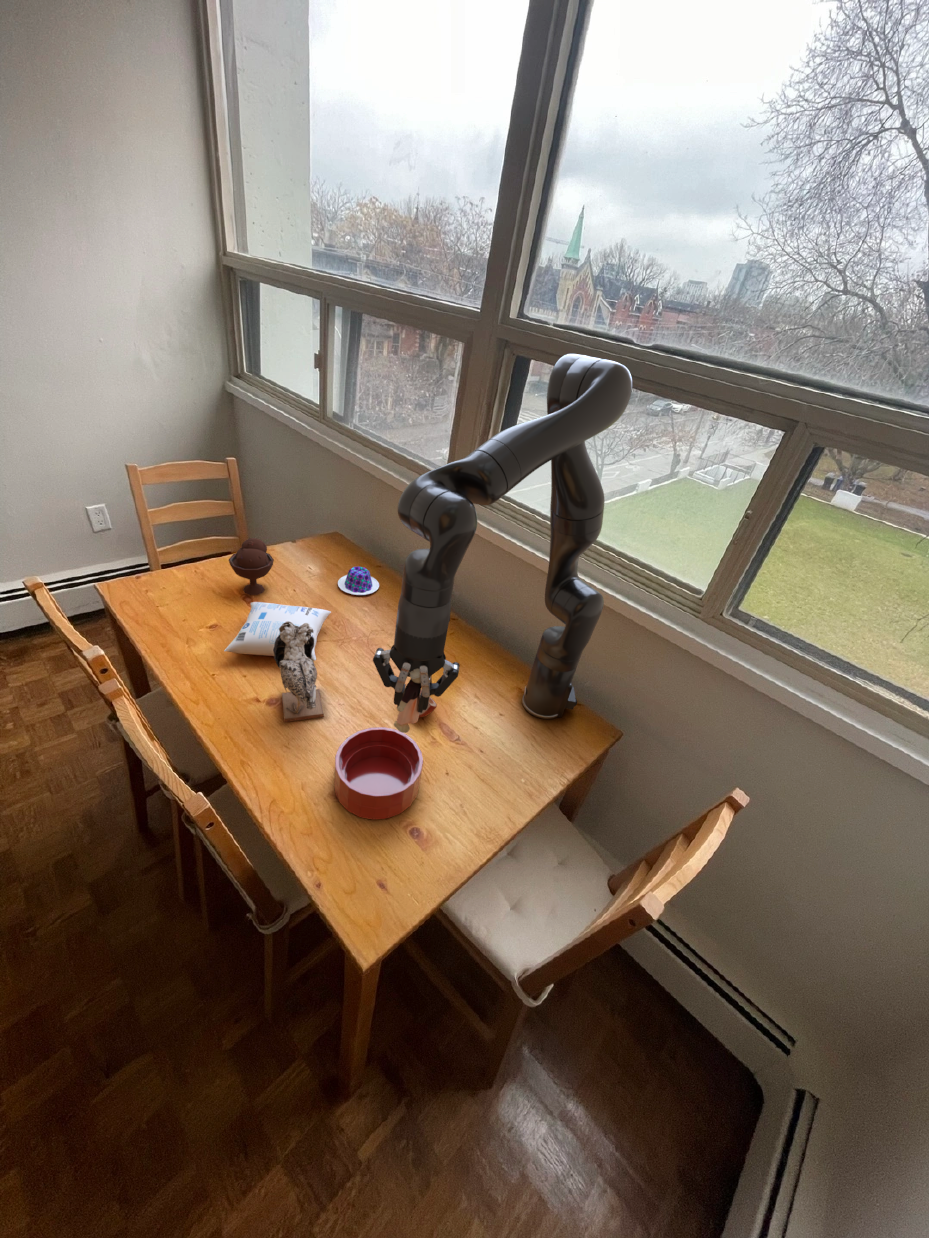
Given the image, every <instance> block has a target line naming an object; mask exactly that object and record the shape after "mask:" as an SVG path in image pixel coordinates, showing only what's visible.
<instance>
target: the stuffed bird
mask: <svg viewBox="0 0 929 1238" xmlns="http://www.w3.org/2000/svg"><path fill="white" fill-rule="evenodd" d="M279 632H280V634H279V636H278V637H277V638H276V641H275V644H274V649H273V652H274V656H273V659H274V661H275V663H276V665H277V667H278V668H279V673H280V679H281V681H282V682H281V683H282V686H283V688H284V690H285V691H286V692H282V693H281V701H282V711H283V721H284V723H287V722H296V721H302V720H311V719H317V718H323V717H324V716H325V711H324V707H323V702H322V697H321V692H320V691H321V690H320V688H317V686H316V683H317V678H318V670H317V667H316V664H315V662H314V660H311V658H312V655H311V654H312V649H313V647H314V638H313V637H312V636H311V633H314V631H313V629H312V628H311V627H310V626H309V624H308V623H304V624H303V625H301V626H295V625H294V624H293V623H292V622H290V621H287V622H285V623H283V624H282V625H281V627H280V628H279ZM287 689H288V692H287Z"/></svg>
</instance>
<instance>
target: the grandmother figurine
mask: <svg viewBox="0 0 929 1238" xmlns="http://www.w3.org/2000/svg"><path fill="white" fill-rule="evenodd" d="M409 674H410V675H409V676H410V677H409V678H410V679H409V681H408V683H407V684H406V686H405V692H404V695H403V697H402V699H401V702H400V705H399V706H398V708H397V711H398V714H397V718H396V720H395V721H394V722H393V726H394V727H395V729H396V730H398V731H400V732H402V733H405V734H407V733H408V732H409V731H410V728H411V727H410V724H416V723H418V721H419V718H420V717H419V712H418V708H419V702H420V691H421V690H422V687H421V678H420V669H414V670H413V671H411V672H410V673H409Z"/></svg>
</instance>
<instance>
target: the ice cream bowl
mask: <svg viewBox="0 0 929 1238" xmlns="http://www.w3.org/2000/svg"><path fill="white" fill-rule="evenodd" d="M267 551H268V546H267V544H266V543H265V542H264V541H263V540H262V539H261V538H260V539H259V538H257V537H251V538H250V537H249V538H247V539H245V540H244V541H243V542H242V543H241V547H240V548H239V549H238V550H237V551H236V552H235V553H232V555H231V556H230V557H229V558H228V563H229V565H230V567H231V569H232V570H233V572H234V573H235V575H237V576H239V577H240V578H244V579H246V580H249V584H246V585H244V587H243V588H242V591H243V593H244V594H245V595H249V596H259V595H261V594H264V592H265V590H266V589H265V587H264V586H263V585H262V584H260V583H258V582H257V580H258V579H261V578H263V577H266V576H267V574H269V573H270V571H271V569H272V567H273V566H274V563H275V562H274V561H275V560H274V557H273V556H272V554H270V553H268V552H267Z"/></svg>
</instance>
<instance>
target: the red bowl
mask: <svg viewBox="0 0 929 1238" xmlns="http://www.w3.org/2000/svg"><path fill="white" fill-rule="evenodd" d="M423 766H424V758H423V752H422V749H420V747H419V745H418V743H417V741H415V740H414V739H413V738H411V736H409V735H408V734H407V733H402V732H400V731H399V730H398V729H397V728H391V727H385V726H376V727H368V728H363V729H360V730H358V731H356V732H354V733H352V734H350V735H349V736H348V737H346V738H345V739H344V740H343V742H342V743H341V744H340V745H339V746H338V749H337V751H336V753H335V756H334V793H335V796H336V798H337V801H338V802H339V803H340V804H341V805H342V806H343V808H344V809H345V810H346V811H347V812H349V813H352V814H353V815H355V816H357V817H359V818H363V819H369V820H373V821H375V820H384V819H390V818H393V817H396V816H397V815H401V814H402V813H404V811H405V810H407V809H408V808H409V807H411V805H412V804H413V802H414V801H415V800H416V798H417V796H418V794H419V788H420V784H421V778H422V772H423Z"/></svg>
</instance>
